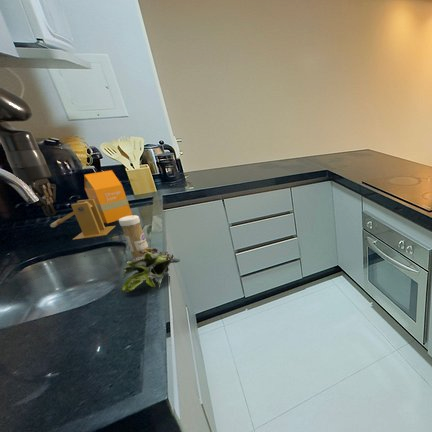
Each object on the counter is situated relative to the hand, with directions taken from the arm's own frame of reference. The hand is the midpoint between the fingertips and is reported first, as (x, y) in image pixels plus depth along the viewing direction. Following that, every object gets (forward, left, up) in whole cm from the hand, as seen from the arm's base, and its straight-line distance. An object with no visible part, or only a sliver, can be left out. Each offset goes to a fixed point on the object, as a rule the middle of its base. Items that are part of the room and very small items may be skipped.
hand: (51, 215), depth 100 cm
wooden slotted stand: (+9, +1, -10) cm, 13 cm away
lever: (+5, +1, -2) cm, 6 cm away
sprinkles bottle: (+30, -27, -10) cm, 42 cm away
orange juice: (+10, +16, -10) cm, 21 cm away
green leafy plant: (+38, -46, -10) cm, 60 cm away
